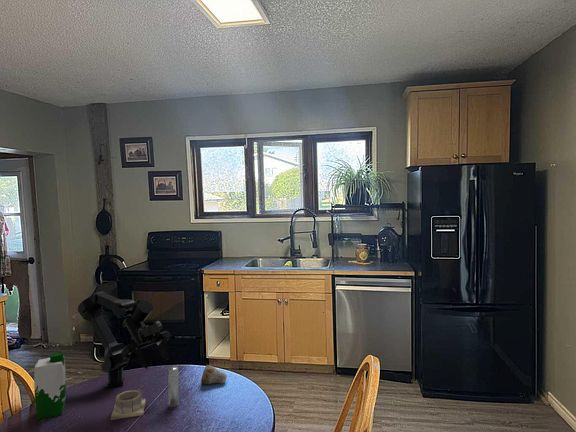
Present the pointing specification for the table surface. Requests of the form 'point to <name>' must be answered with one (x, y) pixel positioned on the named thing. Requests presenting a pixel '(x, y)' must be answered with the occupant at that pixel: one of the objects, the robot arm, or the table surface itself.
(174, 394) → the grey glossy cylinder
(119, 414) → the cup bracket
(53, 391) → the milk carton
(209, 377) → the flower patterned bottle
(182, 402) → the table surface
